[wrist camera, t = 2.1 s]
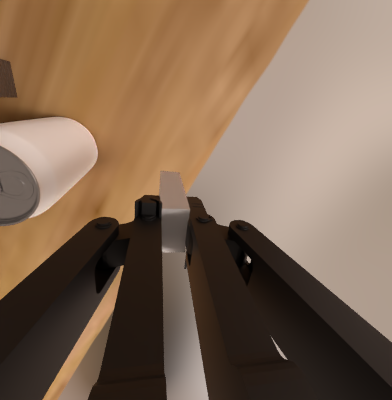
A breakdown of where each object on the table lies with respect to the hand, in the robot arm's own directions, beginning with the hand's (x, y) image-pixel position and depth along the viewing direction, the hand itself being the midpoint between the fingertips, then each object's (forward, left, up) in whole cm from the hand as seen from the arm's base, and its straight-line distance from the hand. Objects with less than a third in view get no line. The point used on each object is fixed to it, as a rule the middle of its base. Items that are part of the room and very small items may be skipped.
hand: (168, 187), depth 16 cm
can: (0, -11, -10) cm, 15 cm away
